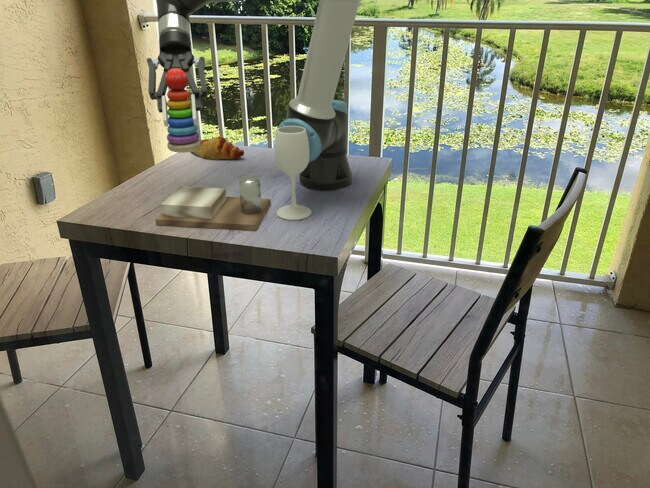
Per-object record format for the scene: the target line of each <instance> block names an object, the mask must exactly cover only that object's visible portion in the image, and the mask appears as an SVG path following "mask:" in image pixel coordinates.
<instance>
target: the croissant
mask: <svg viewBox="0 0 650 488" xmlns="http://www.w3.org/2000/svg"><path fill="white" fill-rule="evenodd" d="M200 142H201V147H200V148H199V149H197V150H195V151H192V152H193V153H194V155H197V156H198V157H201V158H203V159H207V160H208V159H209V160H234V159H235V160H236V159H239V158H241V157H244V155H245V151H244V149H240V148H239V147H238V146H235V145H233V143H232V142H231V141H227V139H226V138H225V137H223V136H221V135H219V136H215V137H211V138H207V139H201V140H200Z"/></svg>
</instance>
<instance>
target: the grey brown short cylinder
mask: <svg viewBox="0 0 650 488" xmlns="http://www.w3.org/2000/svg"><path fill="white" fill-rule="evenodd" d="M238 192H239V193H238V194H239V197H240V206H241V212H242V213H243V214H247V215H253V214H258V213H260V212H261V211H262V209H261V198H262V196H261V195H262V194H261V179H260V177H258V176H255V175H245V176H241V177H240V178H238Z"/></svg>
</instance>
